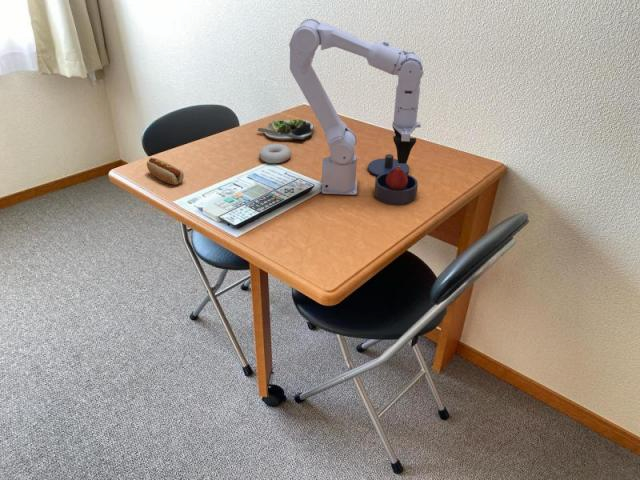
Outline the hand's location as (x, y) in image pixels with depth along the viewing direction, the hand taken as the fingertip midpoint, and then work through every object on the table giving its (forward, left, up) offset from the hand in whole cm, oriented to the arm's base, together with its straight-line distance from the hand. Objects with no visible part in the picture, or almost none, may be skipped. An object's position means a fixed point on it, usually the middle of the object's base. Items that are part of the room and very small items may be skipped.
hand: (401, 156), depth 126 cm
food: (-67, +2, -11) cm, 67 cm away
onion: (-1, -2, -10) cm, 10 cm away
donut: (-37, +19, -11) cm, 43 cm away
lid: (-2, +13, -10) cm, 17 cm away
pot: (-1, -2, -10) cm, 11 cm away
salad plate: (-35, +40, -11) cm, 54 cm away
